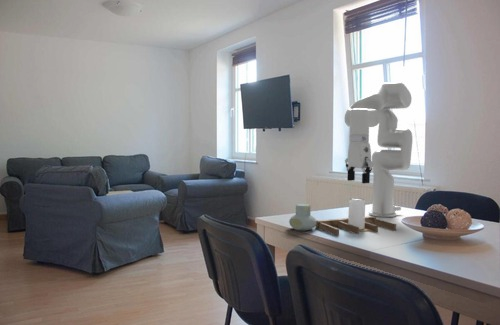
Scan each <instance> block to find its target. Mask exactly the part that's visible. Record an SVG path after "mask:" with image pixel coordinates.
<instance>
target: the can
mask: <svg viewBox="0 0 500 325" xmlns="http://www.w3.org/2000/svg"><path fill="white" fill-rule="evenodd" d="M365 217H366V202H365V199H364V198H359V197H352V198H350V199H349V201H348V217H347V218H348V224H350V225H353V226H356V227H359V230H362V229H364V228H365Z"/></svg>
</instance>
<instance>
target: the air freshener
mask: <svg viewBox="0 0 500 325" xmlns="http://www.w3.org/2000/svg"><path fill="white" fill-rule="evenodd" d="M288 223H289V225H290V226H291V227H290V228H293V229H294V230H296V231H297V232H298V231H299V232H307V231H311V230H313V229H314V228H315V226H316V223H317V222H316V218H315V217H314V216H313V215H311V205H310V204H308V203H307V204H306V203H298V204H296V205H295V214H294V215H292V216H291V217H290V218H289V221H288Z"/></svg>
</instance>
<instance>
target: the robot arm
mask: <svg viewBox="0 0 500 325" xmlns="http://www.w3.org/2000/svg"><path fill="white" fill-rule="evenodd" d="M411 103H412V95H411V92H410V90H409V89H408V88H407V86H406V85H405V84H404V83H403V82H400V81H392V82H380V83H377V84H375V85H374V86H373V87H372V89H371V91H370V92H369V94H368V95H367V96H365V97H362V98H360V99H358V100H356V101H354V102H353V103H352V104H350V105H349V107H348V108H347V110H346V112H345V114H344V123H345V125H346V126H347V127H349V142H348V143H349V144H348V149H347V150H348V151H347V158H345V159H344V163H345V167H346V171H347V181H349V182H352V181H355V179H356V171H355V168H358V169H361V171H362V173H361V184H364V185H365V184H370V182H371V181H370V179H371V177H370V176H371V175H370V174H371V173H372V176H373V177H372V178H373V179H372V180H373V181H372V206H371V207H372V209H371V210H369V211H368V214H369V216H374V217H379V218H394V217H396V216H397V213H396V211H401V210H402V207H401V206H395V205H394V194H395V193H394V191H395V186H394V185H395V178H394V177H393V176H394V175H393V174H392V173H391V172H390V171H408V170H409V168H410V166H411V160H412V150H413V133H412V130H410V129H409V128H404V127H401V128H400V127H398V121H399V119H398V117H397V116H396V114H395V112H393V111H392V110H393V109H394V110H395V109H396V110H397V109H408V108H409V107H410V106H411ZM377 126H378V130H377V146H379V147H381V148H387V149H378V150H376V151H374V152H373V153H372V150H371V145H370V144H371V143H370V142H369V140H370V135H369V134H370V128H374V127H377ZM399 149H400V150H399Z"/></svg>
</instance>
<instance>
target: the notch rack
mask: <svg viewBox="0 0 500 325" xmlns="http://www.w3.org/2000/svg"><path fill="white" fill-rule="evenodd" d="M316 222H317V223H316V226H315V227H314V228H315V229H317V228H318V229H319V230H321V229H322V231H324V232H326V231H327V232H326V233H328V234H331V233H332V234H331V235H333V234H334V235H333V236H336V237H340V229H342V230H344V229H345V230H344V231H347V232H350V233H352V232H353V234H356V235H359V234H360V232H370V231H371V232H373V233H378V232H379V227H382V228H383V229H384V228H385V229H388V230H390V231H393V232H394V231H395V232H396V231H397V224H396V223H393V222H390V221H386V220H383V219H379V218H377V216H373V215H369V216H365V228H364V229H362V230H359V227H356V226H353V225H350V224H348V217H344V218H333V219H332V218H331V219H318V220H316ZM339 228H340V229H339Z"/></svg>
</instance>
